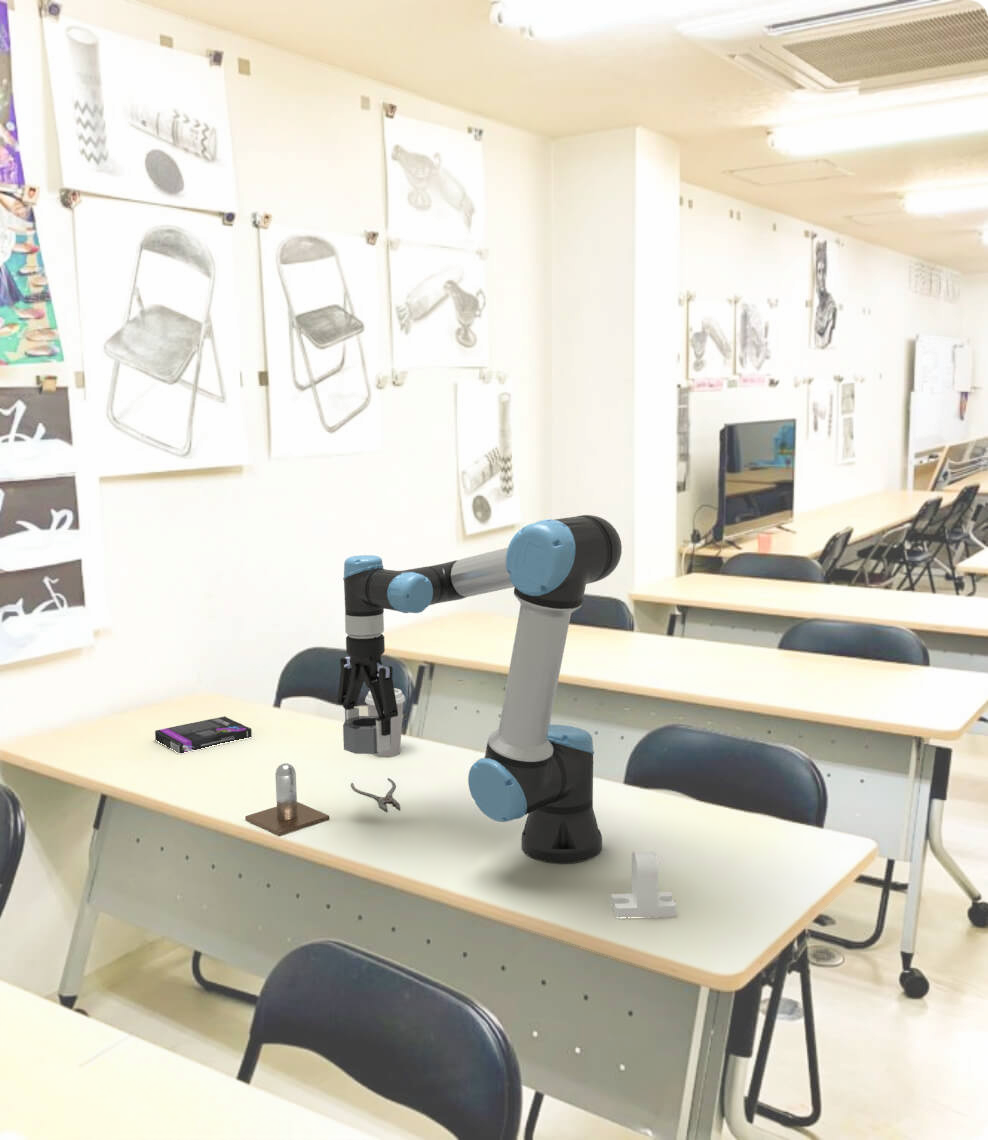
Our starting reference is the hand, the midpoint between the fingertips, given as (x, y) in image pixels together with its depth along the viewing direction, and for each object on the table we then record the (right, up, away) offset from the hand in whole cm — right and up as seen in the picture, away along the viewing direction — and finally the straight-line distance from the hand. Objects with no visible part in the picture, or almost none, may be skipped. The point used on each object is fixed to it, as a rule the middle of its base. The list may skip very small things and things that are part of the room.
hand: (368, 745), depth 221 cm
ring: (0, 0, 0) cm, 0 cm away
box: (-47, -8, +56) cm, 74 cm away
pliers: (+2, -14, +17) cm, 22 cm away
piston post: (-17, -15, +3) cm, 23 cm away
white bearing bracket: (+50, -21, -39) cm, 66 cm away
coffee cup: (-1, -9, +44) cm, 45 cm away
